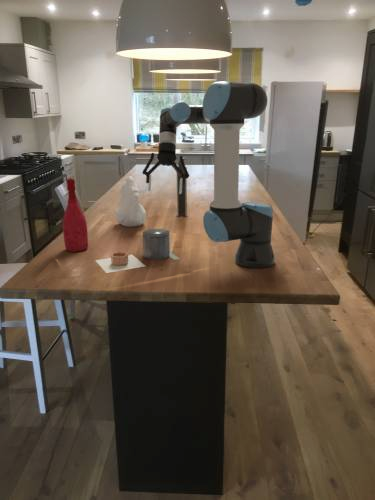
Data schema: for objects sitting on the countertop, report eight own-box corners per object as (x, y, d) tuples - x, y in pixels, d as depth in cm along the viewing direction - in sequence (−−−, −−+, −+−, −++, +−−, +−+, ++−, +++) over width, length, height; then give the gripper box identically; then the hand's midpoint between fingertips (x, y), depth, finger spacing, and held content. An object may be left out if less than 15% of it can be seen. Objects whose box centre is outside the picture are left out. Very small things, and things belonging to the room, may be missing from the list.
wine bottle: (69, 245, 178) (62, 176, 169) (91, 245, 178) (85, 176, 168) (61, 252, 169) (54, 180, 159) (85, 252, 169) (79, 180, 159)
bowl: (130, 264, 153) (129, 255, 152) (114, 267, 150) (114, 258, 149) (124, 259, 158) (124, 251, 157) (109, 262, 155) (109, 253, 154)
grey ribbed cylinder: (174, 258, 160) (173, 233, 157) (149, 262, 156) (148, 237, 153) (163, 250, 169) (162, 227, 166) (139, 254, 165) (138, 230, 162)
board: (145, 268, 151) (145, 266, 151) (106, 275, 145) (106, 273, 144) (132, 256, 164) (131, 254, 163) (95, 262, 157) (95, 260, 157)
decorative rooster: (116, 221, 219) (113, 174, 211) (145, 220, 221) (144, 174, 213) (114, 233, 195) (111, 182, 187) (147, 232, 197) (145, 181, 189)
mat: (180, 260, 160) (180, 258, 160) (147, 265, 154) (146, 264, 154) (165, 250, 172) (165, 248, 172) (134, 255, 166) (134, 253, 166)
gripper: (193, 150, 183) (191, 196, 181) (138, 144, 178) (135, 191, 176) (197, 144, 176) (195, 192, 174) (139, 138, 171) (136, 187, 169)
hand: (165, 192), depth 175 cm, fingers open, 13 cm apart
